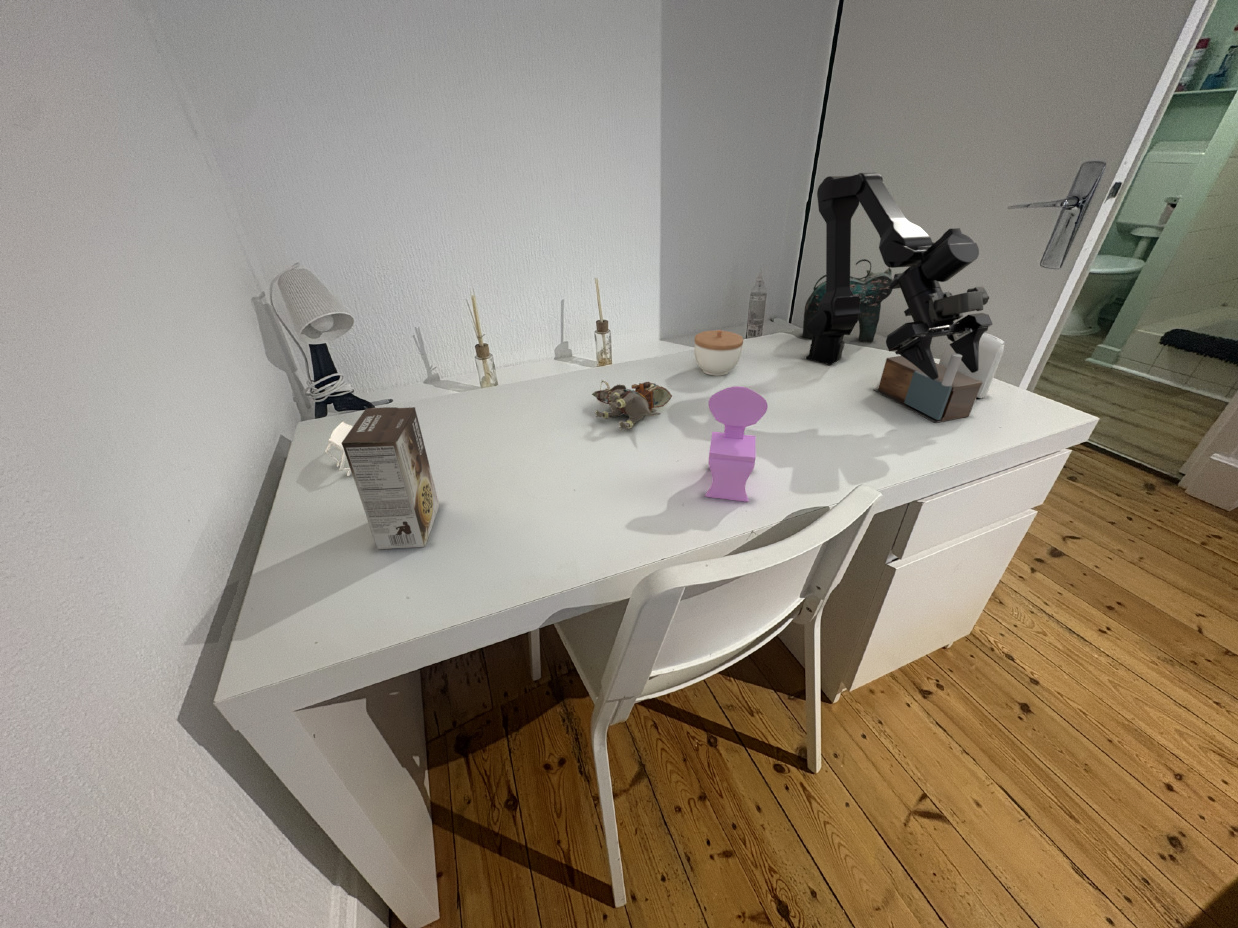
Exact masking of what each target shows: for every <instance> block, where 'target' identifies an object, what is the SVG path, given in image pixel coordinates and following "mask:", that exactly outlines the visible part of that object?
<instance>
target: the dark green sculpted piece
mask: <svg viewBox="0 0 1238 928" xmlns="http://www.w3.org/2000/svg"><path fill="white" fill-rule="evenodd" d="M862 262H867V263H869V266H870V267H869V269H866V276H863V277H855V276H852V275H850V289H851V291H852V293H853V294H854V296H858V295H859V297H860V313H861V314H860V315H859V318H858V326H859V333H858V340H859V342H860V343H862V342H869V343H873V342H874V340H875V336H876V332H877V330H878V329H877V328H878V324H879V321H880V316H881V309H882V302H883V301H885V300H886V299H887V298H889V297H890V295H891V294H892V292H893V290H894V289H890V288H889V287H890V284H891V282H892V281H893V279H894V278H893V275H892V268H889V267H888V268H887V269H886V270H885V271H884V272H873V271H872V263H871V261H870V260H869V259H866V258H861V259H859V260H858V261H857V262H856V263H855V266H857V265H858V264H860V263H862ZM824 278H826V274H823V275H822V276H820V277H819V279H818V280H817V281H816V282H815V284H814V286H813V291H812V292H811V294H810V295H809V297H808V298H807V300H806V302H805V304H804V312H803V322H802V324H803V325H802V338H804V339H812V336H813V335H812V334H810V333H808V327H807V324H808V323H809V322H810V321H811V320H812V319H813V318H814V317H815V316H816V315H817V314H818V307H819V303H820V301H821V300H822V298H823V296H824V294H825V293H826V280H825V281H822V280H823V279H824ZM820 281H822V282H821V283H820ZM818 283H819V284H818Z"/></svg>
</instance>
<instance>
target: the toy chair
mask: <svg viewBox="0 0 1238 928" xmlns="http://www.w3.org/2000/svg"><path fill="white" fill-rule="evenodd" d="M707 405H708V409H709V411H710V413H711V415H712V416H713V417H714V420H715V421H716V422H718V423H720V424H722V425H724V429H723V430H724V431H723V432H720V431H712V432H711V439H710V445H709V450H708V451H709V452H708V461H707V462H708V468H709V470H710V473H711V478H712V480H711V481H712V482H711V485H710V487H709V489H708V490H707V492H706V493H705V494H704V496H705V497H706V498H712V499H713V498H714V499H722V500H731V501H736V502H737V501H738V502H749V501H750V500H749V496H748V495H747V491H746V484H747V481H748V479H749V478H750V476H751V474H752V472H753V470H754V468H755V464H756V457H757V454H756V451H757V449H756V441H757V440H756V439H757V438H756V437H757V436H756V435H752V434H745V430H746V428H747V427H750V426H754V425H756V424H757V423H758V422H759V421H760V420H761V419H762V418H763V417H764V416H765V415H766V413H767V412H768V408H769V406H768V402H767V400H766V399H765V398H764V397H763V396H762V395H761V394H760V393H758V392H756V391H755V390H754V389H751V388H749V387H746V386H741V385H740V386H739V385H738V386H737V385H736V386H735V385H734V386H730V387H729V386H728V387H726V388H723V389H721V390H719V391H717V392H714V394H712V395H711V397H709V399H708V402H707Z"/></svg>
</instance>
